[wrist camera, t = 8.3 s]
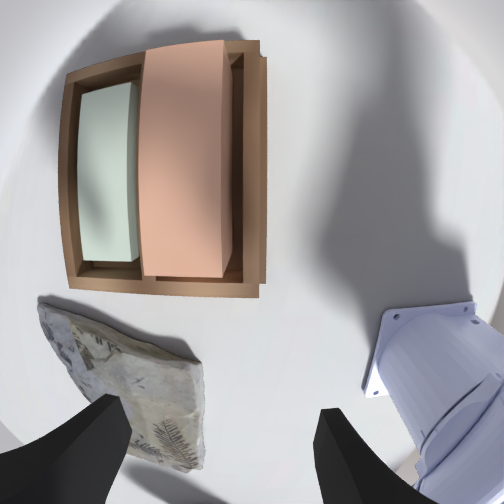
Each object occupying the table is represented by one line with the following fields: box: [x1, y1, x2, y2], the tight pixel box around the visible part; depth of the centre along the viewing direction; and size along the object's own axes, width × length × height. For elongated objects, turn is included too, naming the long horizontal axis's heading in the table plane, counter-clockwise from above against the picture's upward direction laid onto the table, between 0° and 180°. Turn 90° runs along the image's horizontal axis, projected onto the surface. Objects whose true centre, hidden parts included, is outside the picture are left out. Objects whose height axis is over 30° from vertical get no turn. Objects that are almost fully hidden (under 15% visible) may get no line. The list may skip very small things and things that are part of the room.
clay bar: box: [138, 40, 234, 278], centre depth 13 cm, size 3×10×5 cm, turn 0°
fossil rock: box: [37, 303, 205, 473], centre depth 20 cm, size 18×15×2 cm
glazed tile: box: [77, 82, 140, 262], centre depth 14 cm, size 3×10×2 cm, turn 0°
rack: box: [58, 40, 267, 298], centre depth 14 cm, size 13×14×3 cm
